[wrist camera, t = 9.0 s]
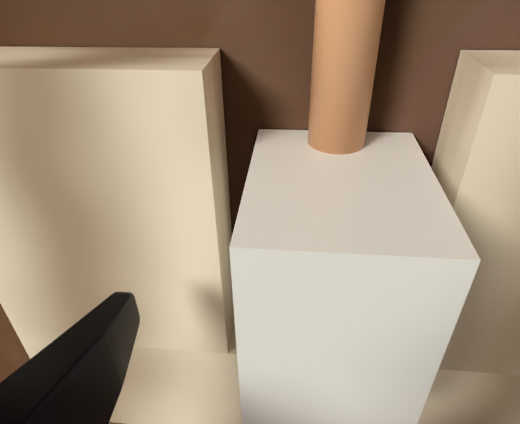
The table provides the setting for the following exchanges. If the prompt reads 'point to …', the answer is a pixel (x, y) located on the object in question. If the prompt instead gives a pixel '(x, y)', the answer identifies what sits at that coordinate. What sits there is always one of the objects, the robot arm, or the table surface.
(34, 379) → the robot arm
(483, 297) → the notched board
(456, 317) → the white mallet
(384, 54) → the table surface
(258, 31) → the table surface
